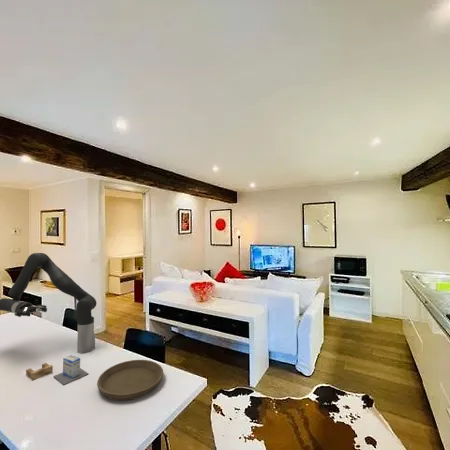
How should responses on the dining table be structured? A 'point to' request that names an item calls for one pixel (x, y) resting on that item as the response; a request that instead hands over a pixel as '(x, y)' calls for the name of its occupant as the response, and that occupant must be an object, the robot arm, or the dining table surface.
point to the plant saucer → (130, 379)
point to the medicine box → (71, 366)
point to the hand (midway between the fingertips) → (38, 312)
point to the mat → (66, 379)
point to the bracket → (39, 371)
